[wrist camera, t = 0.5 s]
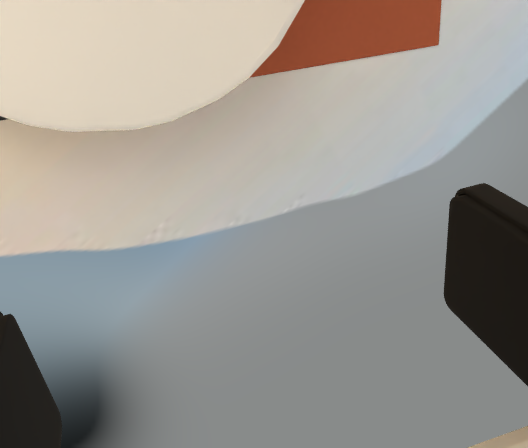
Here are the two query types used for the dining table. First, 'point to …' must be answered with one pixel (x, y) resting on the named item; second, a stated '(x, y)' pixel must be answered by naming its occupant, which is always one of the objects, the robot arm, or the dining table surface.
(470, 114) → the dining table surface
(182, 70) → the plate
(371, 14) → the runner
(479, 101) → the dining table surface
